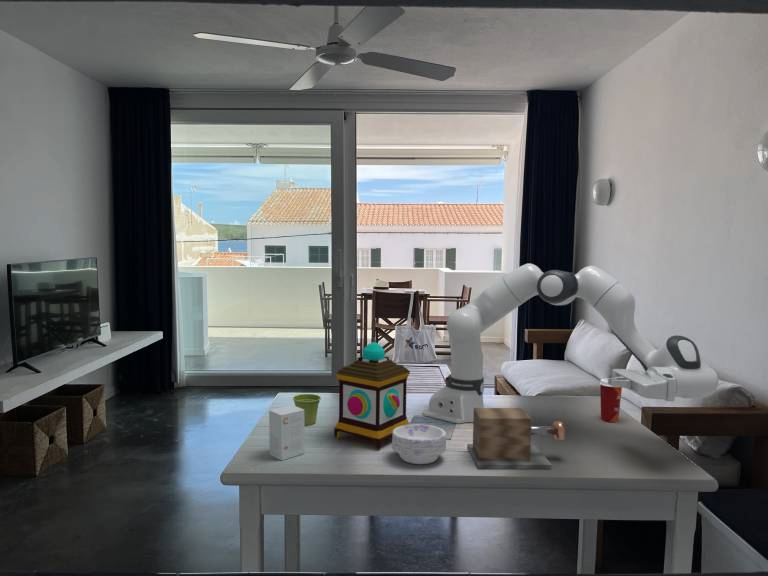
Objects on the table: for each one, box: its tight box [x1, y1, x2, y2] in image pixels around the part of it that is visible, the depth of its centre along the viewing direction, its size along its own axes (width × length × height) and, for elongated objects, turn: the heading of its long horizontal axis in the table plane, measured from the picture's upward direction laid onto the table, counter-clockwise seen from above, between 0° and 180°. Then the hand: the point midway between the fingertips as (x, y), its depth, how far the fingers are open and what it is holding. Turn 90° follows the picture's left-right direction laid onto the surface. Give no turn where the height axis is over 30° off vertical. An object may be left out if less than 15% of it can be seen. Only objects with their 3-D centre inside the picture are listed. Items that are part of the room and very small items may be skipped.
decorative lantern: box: [333, 341, 411, 451], centre depth 174 cm, size 20×20×30 cm
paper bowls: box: [391, 423, 447, 465], centre depth 157 cm, size 15×15×8 cm
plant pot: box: [292, 393, 322, 426], centre depth 188 cm, size 9×9×9 cm
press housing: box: [466, 407, 553, 470], centre depth 158 cm, size 20×16×13 cm
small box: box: [268, 405, 306, 461], centre depth 159 cm, size 8×6×13 cm
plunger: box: [531, 420, 566, 441], centre depth 158 cm, size 17×6×5 cm, turn 92°
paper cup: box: [599, 377, 623, 423], centre depth 195 cm, size 8×8×14 cm
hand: (609, 382), depth 158 cm, fingers closed
